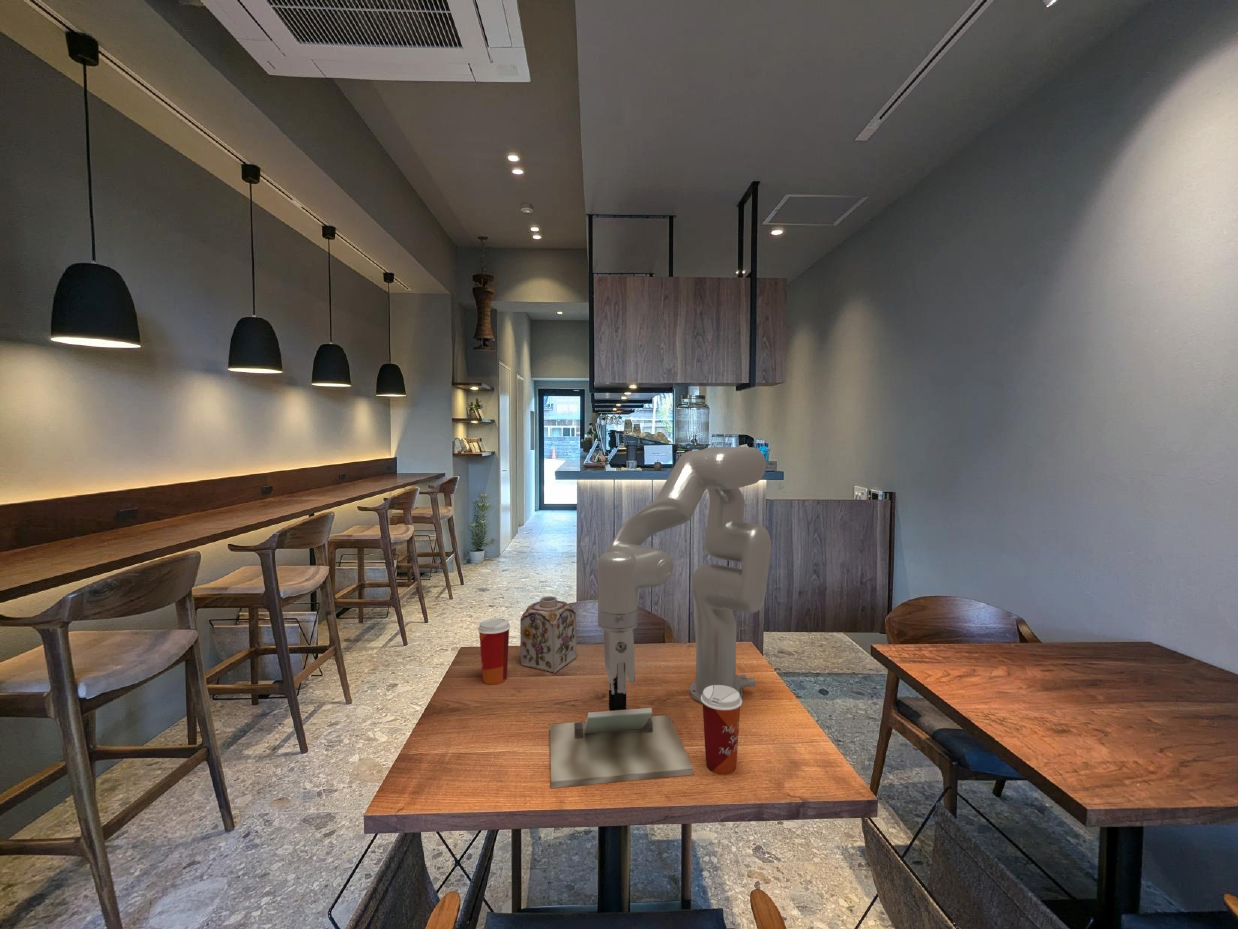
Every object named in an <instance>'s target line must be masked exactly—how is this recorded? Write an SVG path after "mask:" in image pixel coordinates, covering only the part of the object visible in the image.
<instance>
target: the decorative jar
mask: <svg viewBox="0 0 1238 929" xmlns="http://www.w3.org/2000/svg"><path fill="white" fill-rule="evenodd" d="M576 613H577V612H576V610H575V609H574V607H572V606H571V605H569V603H568V602H567V601H562V600H558V598H557V597H556V596H550V595H548V596H542V597H540V599H539V601H536V602H533V603H531V604H529V605H528V606H527V608H526V609H525V611H524V612H523V613H522V616H520V621H519V622H520V630H519V631H520V635H519V636H520V638H519V639H520V646H519V647H520V665H521V666H522V665H523V666H522V667H525V666H527V667H526V668H530V667H532V668H531V669H535V668H536V670H539V669H540V671H544V670H545V672H548V671H549V673H552V672H553V673H552V674H556V673H557V672H559V671H560V670H562V669H563V668H565V667H566V666H567V665H569V664H570V663H571V662H573V661H574V660H576V659H577V656H578V655H577V651H578V650H577V644H578V643H577V642H578V640H577V614H576Z"/></svg>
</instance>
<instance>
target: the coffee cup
mask: <svg viewBox="0 0 1238 929" xmlns="http://www.w3.org/2000/svg"><path fill="white" fill-rule="evenodd" d="M510 629H511V625H510V622H509V620H508V619H505V618H501V617H493V618H487V619H485V620H484V619H483V620H482V621H480V622H479V625H478V627H477V631H478V633H479V646H480V658H481V670H482V671H481V673H482V681H483V684H485V683H486V684H485V685H489V686H495V684H496V685H500V684H503V683H504V681H505V680H506V681H507V678H508V666H509V665H508V662H509V640H510ZM506 681H505V682H506ZM502 682H503V683H502ZM499 683H500V684H499Z"/></svg>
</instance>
